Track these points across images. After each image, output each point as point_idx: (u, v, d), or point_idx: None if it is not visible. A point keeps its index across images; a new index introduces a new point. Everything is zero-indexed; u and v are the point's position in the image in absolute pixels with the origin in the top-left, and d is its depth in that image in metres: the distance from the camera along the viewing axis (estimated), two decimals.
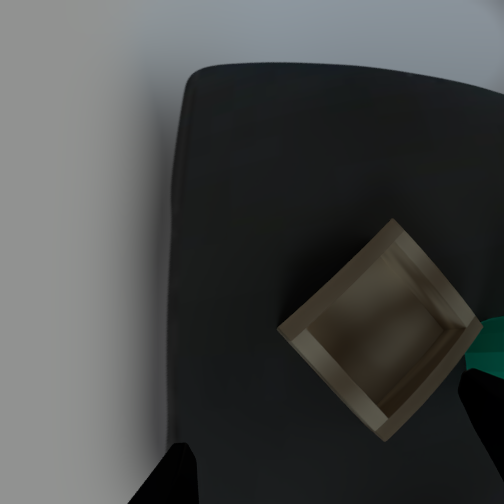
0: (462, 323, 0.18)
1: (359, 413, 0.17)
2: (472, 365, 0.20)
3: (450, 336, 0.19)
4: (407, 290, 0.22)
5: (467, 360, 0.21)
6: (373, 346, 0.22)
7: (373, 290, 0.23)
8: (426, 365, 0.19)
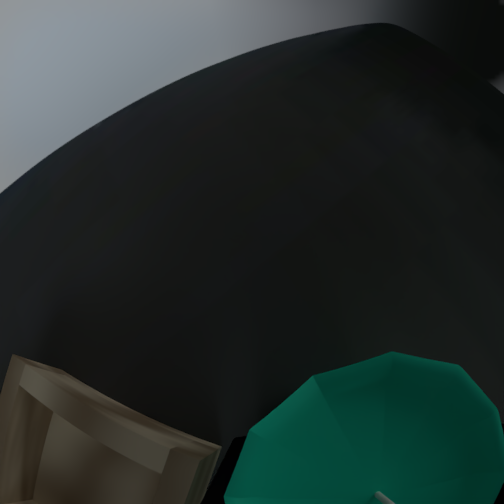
0: (152, 468, 0.10)
1: None
2: None
3: None
4: None
5: None
6: None
7: (69, 440, 0.13)
8: None
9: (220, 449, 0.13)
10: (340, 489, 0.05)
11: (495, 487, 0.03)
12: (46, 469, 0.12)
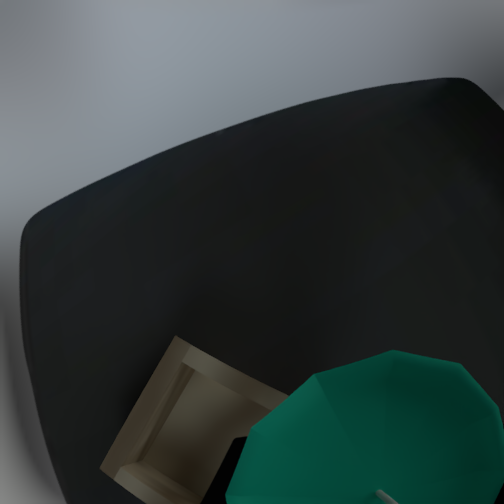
0: None
1: None
2: None
3: None
4: (241, 396, 0.20)
5: None
6: (219, 462, 0.18)
7: (200, 407, 0.20)
8: None
9: None
10: (341, 488, 0.05)
11: (496, 485, 0.03)
12: (168, 432, 0.19)
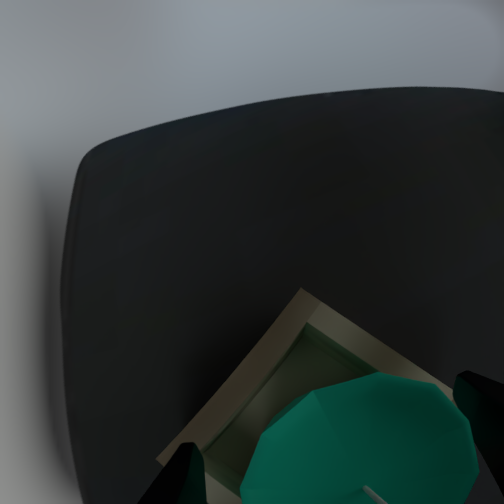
0: None
1: None
2: None
3: None
4: (353, 376, 0.16)
5: None
6: None
7: (301, 387, 0.16)
8: None
9: None
10: (334, 483, 0.06)
11: (466, 486, 0.05)
12: (252, 417, 0.15)
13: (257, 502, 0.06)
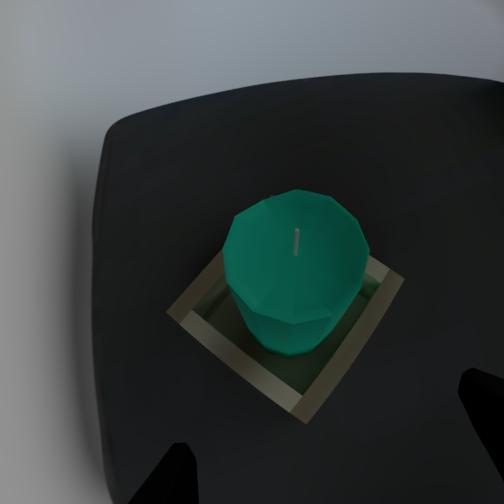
0: (374, 280, 0.19)
1: (264, 392, 0.17)
2: (261, 345, 0.20)
3: (369, 300, 0.20)
4: None
5: None
6: None
7: None
8: (345, 335, 0.19)
9: None
10: (276, 249, 0.13)
11: (362, 258, 0.12)
12: None
13: (232, 258, 0.13)
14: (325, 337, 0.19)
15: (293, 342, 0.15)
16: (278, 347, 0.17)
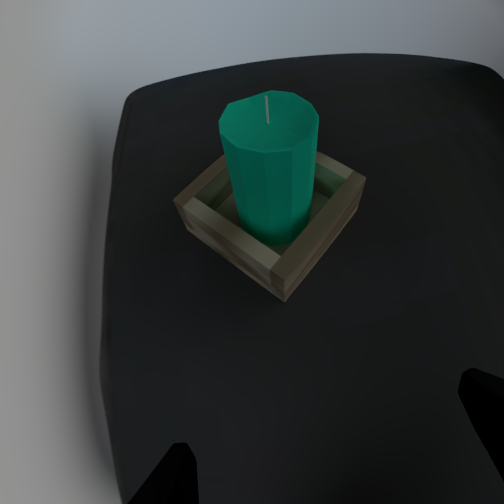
0: (341, 177, 0.24)
1: (249, 253, 0.21)
2: (249, 231, 0.25)
3: None
4: None
5: (246, 232, 0.26)
6: None
7: None
8: None
9: None
10: (255, 120, 0.18)
11: (313, 120, 0.17)
12: (232, 200, 0.28)
13: (224, 124, 0.18)
14: (301, 220, 0.24)
15: (270, 198, 0.20)
16: (261, 218, 0.22)
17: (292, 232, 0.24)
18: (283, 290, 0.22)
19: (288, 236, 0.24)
